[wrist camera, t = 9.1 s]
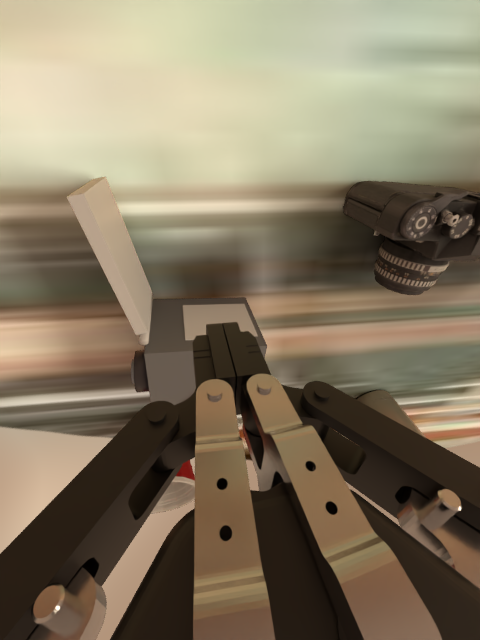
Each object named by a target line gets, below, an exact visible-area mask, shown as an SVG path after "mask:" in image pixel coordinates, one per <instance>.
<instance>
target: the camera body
mask: <svg viewBox="0 0 480 640" xmlns="http://www.w3.org/2000/svg"><path fill="white" fill-rule="evenodd" d="M228 322H237V323H238V325H239V328H240V331H241V332H244V331H249V332H250V333H251V334H252V335H253V336H254V337H255V338H256V340H257V342H258V346H259V347H260V350H261V352H262V354H263V357H264V358H265V353H266V348H267V345H266V342H265V340H264V338H263V336H262V334H261V331H260V329H259V327H258V325H257V323H256V320H255V318H254V316H253V314H252V311H251V309H250V307H249V305H248V303H247V300H246V298H205V299H155V300H153V301H152V312H151V322H150V333H149V343H148V344H147V345H145V350H144V351H136V352H135V357H134V359H133V360H132V363H131V379H132V383H133V384H135V389H136V392H145V391H149V392H150V400H151V403H152V402H155V401H168V402H170V403H172V404H173V405H176V404H178V403H181V402H183V401H185V400H187V399H188V398H189V397H190V396H191V395H192V394H193V393H194V391H195V389H196V384H195V374H194V362H193V346H192V343H193V341H194V339H195V337H196V336H198V335H206V324H216V323H221V324H222V323H228Z"/></svg>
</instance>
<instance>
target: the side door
mask: <svg viewBox="0 0 480 640" xmlns="http://www.w3.org/2000/svg"><path fill="white" fill-rule="evenodd" d="M67 199H68V201H69V203H70V205H71V207H72V209H73V211H74V213H75V215H76V217H77V219H78V221H79V223H80V225H81V227H82V229H83V231H84V233H85V235H86V237H87V239H88V241H89V243H90V245H91V247H92V249H93V251H94V253H95V255H96V257H97V259H98V261H99V263H100V265H101V267H102V269H103V271H104V273H105V275H106V277H107V279H108V281H109V283H110V285H111V287H112V289H113V291H114V292H115V294H116V296H117V298H118V300H119V302H120V304H121V306H122V308H123V310H124V312H125V314H126V316H127V318H128V320H129V322H130V324H131V326H132V328H133V330H134V332H135V334H136V335H139V334H140V335H139V344H140V345H143V346H145V345H147V344H148V343H149V333H150V322H151V312H152V301H153V293H152V291H151V288H150V286H149V283H148V281H147V278H146V276H145V273H144V271H143V268H142V266H141V263H140V261H139V258H138V256H137V253H136V251H135V248H134V246H133V243H132V241H131V238H130V236H129V233H128V231H127V228H126V226H125V223H124V221H123V218H122V216H121V214H120V211H119V209H118V206H117V204H116V201H115V199H114V196H113V194H112V191H111V189H110V186H109V184H108V181H107V179H106V177H101V178H96V179H92V180H91V181H89V182H88V183H86V184H85V185H83V186H82V187H80V188H79V189H77V190H76V191H74V192H73V193H71V194H70V195H68V196H67Z"/></svg>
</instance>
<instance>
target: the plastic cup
mask: <svg viewBox="0 0 480 640" xmlns="http://www.w3.org/2000/svg"><path fill="white" fill-rule="evenodd" d="M193 500H195V476H194V474H193V471H192V466H191V464H190V460H188V461H187V462H185V463H183V464H182V467H181V469H180V470H179V472H178V473H177V475H176V476H175V478H174V479H173V481H172V482H171V484H170V485H169V487H168V488H167V490H166V491H165V493H164V494H163V495H162V497H161V498H160V500H159V501H158V503H157V504H156V506H155V507H154V509H153V510H152V512H151V513H150V514H153V513H160V512H166V511H169V510H173V509H176V508H180V507H182V506H184V505H186V504H188V503H190V502H192V501H193Z"/></svg>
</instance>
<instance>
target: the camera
mask: <svg viewBox="0 0 480 640" xmlns="http://www.w3.org/2000/svg"><path fill="white" fill-rule="evenodd" d="M343 209H344V213H345V215H348V216H350V217H352V218H354V219H355V220H357V221H359V222H361V223H363V224H365V225H367V226H368V227H370V228H372V229H374V230H375V232H374V235H376V236H378V235H379V233H380V234H382V235H384V236H386V238H385V240H384V242H383V244H382V245H381V246H380V249H379V258H378V259H377V260H376V263H375V265H374V267H375V270H374V274H375V279H376V281H377V282H378V283H379V284H380V285H382V286H384V287H386V288H387V289H389V290H392V291H395V292H398V293H401V294H407V295H419V294H421V293H423V291H426V290H428V289H429V288H430V287H431V286H432V285H434V284H435V283H436V281H437V279H438V276H439V275H440V274H441V273H442V271H444V270H446V268H447V266H448V265H449V261H475V260H477V259H479V258H480V193H475V192H471V191H467V190H462V189H457V188H452V187H438V186H437V187H435V186H429V185H417V184H415V185H413V184H405V183H396V182H384V181H383V182H377V181H364V182H359V183H357V184H355V185H354V186H353V187H352V188H351V189H350V190H349V192H348V193H347V196H346V199H345V203H344V206H343ZM377 232H378V233H377Z"/></svg>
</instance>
